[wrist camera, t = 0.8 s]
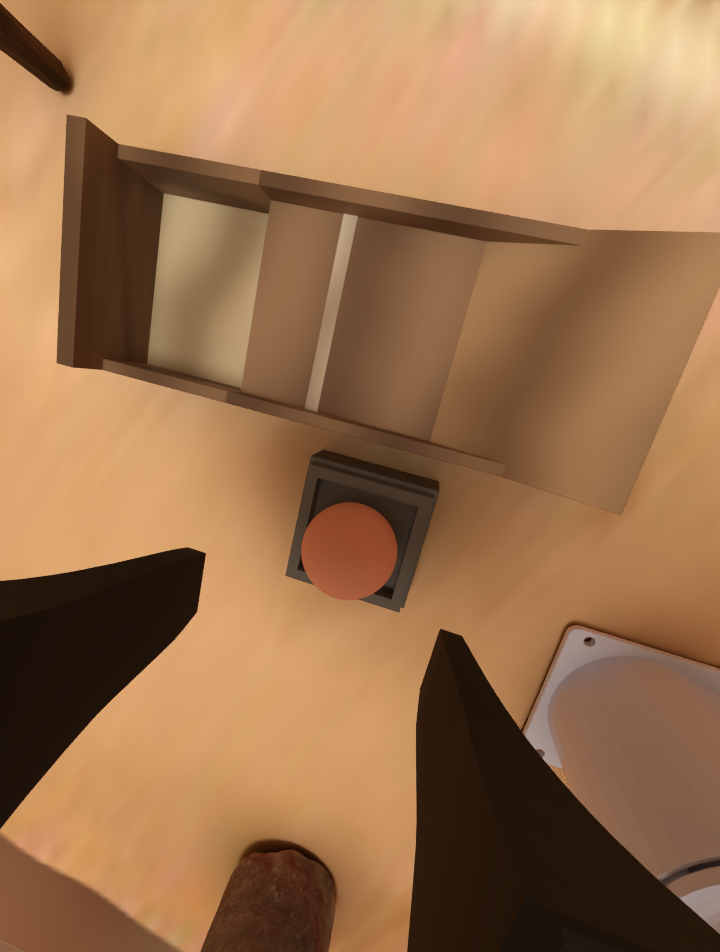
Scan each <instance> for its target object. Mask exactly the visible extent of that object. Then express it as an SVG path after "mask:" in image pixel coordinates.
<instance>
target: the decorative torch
mask: <svg viewBox="0 0 720 952" xmlns="http://www.w3.org/2000/svg"><path fill="white" fill-rule="evenodd" d="M0 50H1V51H3V52H4V53H5V54H7V55H8V56H9V57H11V58H12V59H13V60H15V61H16V62H17V63H19V64H20V65H21V66H23V67H24V68H25V69H26V70H28V71H29V72H30V73H32V74H33V75H34V76H36V77H37V78H38V79H40V80H41V81H42V82H43V83H45V84H46V85H47V86H49V87H50V88H52V89H54V90H55V91H65V90H67V88H68V86H69V77H68V75H67V72H66V70H65V69H64V67H63V65H62V63H61V61H60V60H59V59H58V58H57V57H56V56H55V55H54V54H52V53H51V52H50V51H49V50H48V49H47V48H46V47H45V46H44V45H43V44H42V43H41V42H40V41H39V40H38V39H37V38H36V37H35V36H33V35H32V34H31V33H30V32H29V31H28V30H27V29H26V28H25V27H24V26H23V25H22V24H21V23H20V22H19V21H18V20H17V19H16V18H15V17H14V16H13V15H12V14H11V13H10V12H9V11H8V10H7V9H6V8H5V7H4V6H3V5H2V4H1V3H0Z"/></svg>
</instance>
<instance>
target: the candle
mask: <svg viewBox="0 0 720 952" xmlns="http://www.w3.org/2000/svg"><path fill="white" fill-rule="evenodd" d="M333 886H334V885H333V882H332V879H331V876H330V874H329V873H328V871H327V870H326V869H325V868H324V867H322V865H321V864H319V863H317V862H315V861H313V860H309V859H307V858H306V857H304V856H303V855H302V854H300V853H298V852H297V851H295V850H292V849H291V850H284V851H280V852H277V853H273V852H270V853H252V854H250V855H249V856H248V857H247V858H245V859H243V860H241V862H240V863H239V864H238V866H237V867H236V869H235V870H234V871H233V873H232V875H231V877H230V880H229V882H228V885H227V887H226V889H225V891H224V894H223V897H222V899H221V902H220V905H219V907H218V910H217V912H216V915H215V917H214V919H213V921H212V924H211V926H210V929H209V931H208V934H207V936H206V939H205V941H204V944H203V946H202V949H201V952H328V950H329V945H330V939H331V932H332V927H333V922H334V914H335V903H334V889H333Z"/></svg>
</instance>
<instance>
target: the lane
mask: <svg viewBox="0 0 720 952" xmlns="http://www.w3.org/2000/svg"><path fill="white" fill-rule="evenodd" d="M719 288H720V233H709V232H666V231H622V230H586V229H580V228H575V227H569V226H564V225H558V224H553V223H547V222H542V221H537V220H531V219H526V218H520V217H515V216H509V215H504V214H498V213H493V212H487V211H482V210H476V209H471V208H465V207H460V206H454V205H449V204H444V203H438V202H433V201H427V200H422V199H416V198H411V197H405V196H400V195H394V194H389V193H383V192H378V191H372V190H367V189H361V188H356V187H351V186H345V185H340V184H334V183H329V182H323V181H318V180H312V179H307V178H301V177H296V176H290V175H285V174H279V173H274V172H268V171H263V170H258V169H252V168H247V167H241V166H236V165H230V164H225V163H219V162H214V161H208V160H203V159H197V158H192V157H186V156H181V155H176V154H170V153H165V152H159V151H154V150H148V149H143V148H137V147H132V146H126V145H121V144H118V143H116V142H115V141H114V140H113V139H111V138H110V137H109V136H108V135H106V134H105V133H104V132H103V131H101V130H100V129H99V128H98V127H96V126H95V125H94V124H93V123H91V122H90V121H89V120H88V119H86V118H83V117H77V116H71V115H67V124H66V148H65V172H64V196H63V220H62V244H61V269H60V293H59V317H58V341H57V363H58V364H62V365H66V366H69V367H74V368H87V369H99V370H105V371H109V372H113V373H116V374H120V375H124V376H128V377H131V378H135V379H139V380H142V381H146V382H150V383H154V384H157V385H161V386H165V387H169V388H172V389H176V390H180V391H184V392H187V393H191V394H195V395H198V396H202V397H206V398H210V399H213V400H217V401H221V402H225V403H228V404H232V405H236V406H240V407H243V408H247V409H251V410H254V411H258V412H262V413H266V414H269V415H273V416H277V417H281V418H284V419H288V420H292V421H296V422H299V423H303V424H307V425H310V426H314V427H318V428H322V429H325V430H329V431H333V432H337V433H340V434H344V435H348V436H352V437H355V438H359V439H363V440H366V441H370V442H374V443H378V444H381V445H385V446H389V447H393V448H396V449H400V450H404V451H407V452H411V453H415V454H419V455H422V456H426V457H430V458H434V459H437V460H441V461H445V462H449V463H452V464H456V465H460V466H463V467H467V468H471V469H475V470H478V471H482V472H486V473H490V474H493V475H497V476H501V477H504V478H507V479H510V480H513V481H516V482H520V483H523V484H526V485H529V486H532V487H535V488H538V489H541V490H544V491H547V492H550V493H553V494H557V495H560V496H563V497H566V498H569V499H572V500H575V501H578V502H581V503H584V504H587V505H590V506H594V507H597V508H600V509H603V510H606V511H609V512H612V513H615V514H618V515H621V514H622V512H623V509H624V507H625V505H626V502H627V500H628V498H629V495H630V493H631V491H632V488H633V486H634V484H635V482H636V479H637V477H638V475H639V472H640V470H641V468H642V465H643V463H644V461H645V458H646V456H647V454H648V452H649V449H650V447H651V445H652V442H653V440H654V438H655V435H656V433H657V431H658V428H659V426H660V424H661V421H662V419H663V417H664V415H665V412H666V410H667V408H668V405H669V403H670V401H671V398H672V396H673V394H674V391H675V389H676V387H677V385H678V382H679V380H680V378H681V375H682V373H683V371H684V368H685V366H686V364H687V361H688V359H689V357H690V354H691V352H692V350H693V348H694V345H695V343H696V341H697V338H698V336H699V334H700V331H701V329H702V327H703V324H704V322H705V320H706V318H707V315H708V313H709V311H710V308H711V306H712V304H713V301H714V299H715V297H716V294H717V292H718V290H719Z"/></svg>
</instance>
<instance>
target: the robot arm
mask: <svg viewBox="0 0 720 952" xmlns="http://www.w3.org/2000/svg"><path fill="white" fill-rule="evenodd" d="M205 556H206V553H203V552H200V551H197V550H194V549H191V548H180V549H175V550H170V551H165V552H161V553H156V554H152V555H148V556H144V557H139V558H135V559H131V560H126V561H122V562H118V563H113V564H108V565H103V566H99V567H94V568H89V569H84V570H79V571H74V572H68V573H62V574H56V575H49V576H42V577H34V578H27V579H18V580H7V581H0V829H1V827H2V826H3V825H4V824H5V822H6V821H7V820H8V819H9V817H10V816H11V815H12V814H13V812H14V811H15V810H16V809H17V807H18V806H19V805H20V804H21V802H22V801H23V800H24V799H25V797H26V796H27V795H28V794H29V793H30V791H31V790H32V789H33V788H34V787H35V785H36V784H37V783H38V782H39V781H40V780H41V778H42V777H43V776H44V775H45V774H46V772H47V771H48V770H49V769H50V768H51V766H52V765H53V764H54V763H55V762H56V761H57V759H58V758H59V757H60V756H61V755H62V753H63V752H64V751H65V750H66V749H67V748H68V747H69V745H70V744H71V743H72V742H73V741H74V740H75V739H76V738H77V736H78V735H79V734H80V733H81V732H82V731H83V730H84V728H85V727H86V726H87V725H88V724H89V723H90V722H91V721H92V719H93V718H94V717H95V716H96V715H97V714H98V713H99V712H100V711H101V710H102V709H103V708H104V707H105V706H106V705H107V704H108V703H109V702H110V701H111V700H112V699H113V698H114V697H115V696H116V695H117V694H118V693H119V692H120V691H121V690H122V689H123V688H125V687H126V686H127V685H128V684H129V683H130V682H131V681H132V680H133V679H134V678H135V677H136V676H137V675H138V674H139V673H140V672H141V671H142V670H144V669H145V668H146V667H147V666H148V665H149V664H150V663H151V662H152V661H153V660H154V659H155V658H156V657H157V656H158V655H159V654H160V653H161V652H162V651H163V650H164V649H165V648H166V647H167V646H169V645H170V644H171V643H172V642H173V641H174V640H175V638H176V637H177V636H178V635H179V634H180V632H181V631H182V630H183V629H184V628H185V626H186V625H187V624H188V623H189V621H190V620H191V619H192V618H193V616H194V615H195V614H196V612H197V609H198V602H199V595H200V589H201V582H202V576H203V569H204V562H205ZM587 637H592V639H591V641H588V642H584V639H585V638H587ZM537 749H541V750H540V751H536V750H537ZM547 764H549V765H552V766H554V767H557V768H560V769H563V771H564V774H565V777H566V780H567V783H568V785H569V788H570V790H569V789H568V788H567V787H566V786H565V785H564V783H563V782H562V781H561V780H560V779H559V778H558V776H557V775H556V774H555V773H554V772H553V771H552V769H551V768H550V767H549V766H548V765H547ZM416 793H417V828H416V851H415V864H414V878H413V891H412V903H411V915H410V926H409V938H408V949H407V952H720V669H719V668H716V667H713V666H709V665H706V664H703V663H700V662H696V661H693V660H690V659H687V658H683V657H680V656H677V655H674V654H670V653H667V652H664V651H661V650H657V649H654V648H651V647H648V646H644V645H641V644H638V643H635V642H632V641H628V640H625V639H622V638H619V637H615V636H612V635H609V634H606V633H602V632H599V631H596V630H593V629H589V628H586V627H583V626H579V625H574V626H571V627H569V628H568V629H567V630H566V632H565V634H564V637H563V639H562V641H561V644H560V646H559V648H558V651H557V653H556V655H555V658H554V660H553V662H552V665H551V667H550V669H549V672H548V674H547V676H546V679H545V681H544V683H543V686H542V688H541V690H540V693H539V695H538V697H537V700H536V702H535V704H534V707H533V709H532V711H531V714H530V716H529V718H528V721H527V723H526V725H525V728H524V730H523V732H522V731H521V730H520V729H519V727H518V726H517V724H516V723H515V721H514V720H513V719H512V717H511V716H510V714H509V713H508V711H507V710H506V709H505V707H504V705H503V704H502V702H501V701H500V699H499V698H498V696H497V695H496V693H495V692H494V690H493V688H492V687H491V685H490V684H489V682H488V680H487V679H486V677H485V675H484V674H483V672H482V670H481V668H480V667H479V665H478V663H477V662H476V660H475V658H474V656H473V655H472V653H471V651H470V649H469V647H468V646H467V644H466V642H465V640H464V639H463V637H462V636H460V635H457V634H454V633H451V632H448V631H445V630H442V629H440V631H439V634H438V637H437V640H436V643H435V646H434V649H433V652H432V655H431V658H430V661H429V664H428V667H427V670H426V673H425V676H424V679H423V682H422V685H421V688H420V694H419V703H418V712H417V722H416ZM0 952H23V951H21V950H19V949H17V948H15V947H13V946H11V945H9V944H7V943H5V942H3V941H1V940H0Z"/></svg>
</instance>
